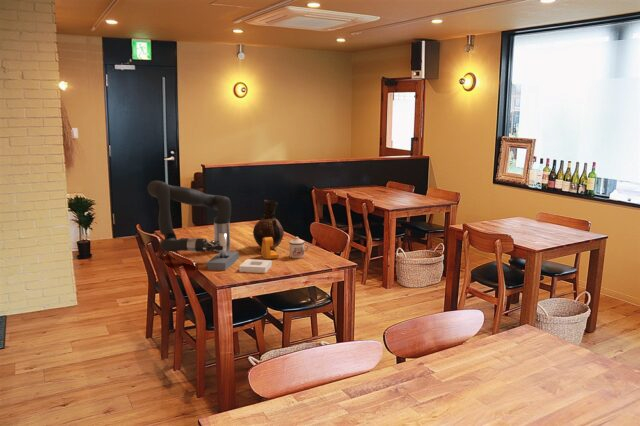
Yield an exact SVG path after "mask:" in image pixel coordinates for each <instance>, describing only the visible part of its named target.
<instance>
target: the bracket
mask: <svg viewBox="0 0 640 426" xmlns="http://www.w3.org/2000/svg"><path fill="white" fill-rule="evenodd" d="M270 246H273V238H272V237H266V238H263V242H262V248H261V251H260V252H261V253H260V254H261V256H262V257H263V258H264V260H271V259H279V258H280V255H279V253H278V252H276V251H275V250H274V249H270Z"/></svg>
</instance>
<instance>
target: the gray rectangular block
mask: <svg viewBox="0 0 640 426" xmlns="http://www.w3.org/2000/svg"><path fill="white" fill-rule="evenodd" d="M239 254H240V253H239V251H231V250H230V251H227V258H220V252H218V253H217V254H215V255H214V256H213V257H212V258H210V260H208V261H207V263H206V264H207V265H206V267H207V270H211V271H212V270H213V271H226V270H228V269H229V267H231V266H232V265H233V264H235V262H237V261H238V260H239V258H240V256H239Z"/></svg>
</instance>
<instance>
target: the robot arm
mask: <svg viewBox="0 0 640 426" xmlns="http://www.w3.org/2000/svg"><path fill="white" fill-rule="evenodd" d="M147 192H148V194H149V195H150V196H151V197H153V198H156V199H157V201H158V205H159V207H158V208H159V211H158V226H159V228H158V229H159V231H160V235H162V236H164V239H163V240H162V241H161V242H160V245H159V246H160V249H161V250H162V251H164V252H166V253H170V252H169V251H172V252H171V253H173V252H180V251H181V252H182V251H185V252H192V253H193V252H194V253H205V252H216V253H220V250H223V246H219V234H220V233H227V251H231V229H230V226H231V225H230V224H231V223H230V221H231V218H232V217H231V216H232V202H231V200H230V198H229V197H228V196H223V195H217V194H210V193H209V194H208V193H206V192H205V193H204V192H203V191H201V190H198V189H195V188H191V187H186V186H185V187H184V186H178V185H171V184H168V183H166V182H165V181H162V180H151V182H149V183H148V185H147ZM171 200H172V201H175V202H178V203H182V204H184V205H190V206H193V207H196V206H197V207H206V208H208V209H212V210H214V211H217V216H216V217H214V218H213V232H214V233H213V236H214V240H210V241H208V240H207V239H206V238H204V237H203V238H202V237H200V238H198V237H190V238H188V237H181V238H178V239H177V235H176V233H175V231H174V227H173V222H172V214H171V213H172V212H171Z"/></svg>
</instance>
